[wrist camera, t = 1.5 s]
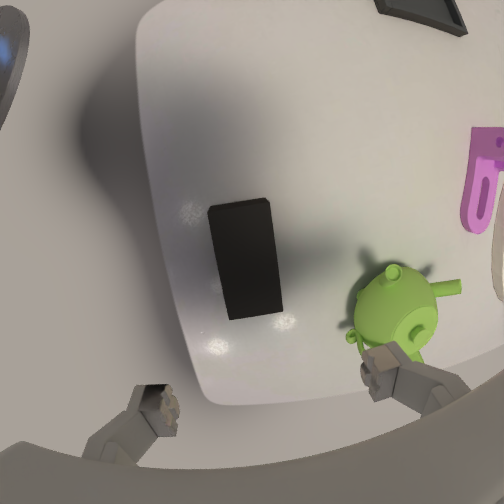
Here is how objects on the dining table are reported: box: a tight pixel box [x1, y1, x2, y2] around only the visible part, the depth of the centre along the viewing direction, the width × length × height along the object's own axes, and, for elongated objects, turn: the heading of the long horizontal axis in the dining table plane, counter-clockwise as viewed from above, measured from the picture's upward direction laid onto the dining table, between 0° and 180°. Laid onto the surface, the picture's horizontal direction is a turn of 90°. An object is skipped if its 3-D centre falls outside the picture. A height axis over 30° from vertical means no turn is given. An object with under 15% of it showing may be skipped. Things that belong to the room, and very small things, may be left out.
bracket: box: [460, 127, 504, 234], centre depth 22 cm, size 13×6×7 cm, turn 170°
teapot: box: [346, 264, 462, 364], centre depth 25 cm, size 11×12×8 cm
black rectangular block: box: [207, 198, 283, 320], centre depth 25 cm, size 10×5×3 cm, turn 9°
